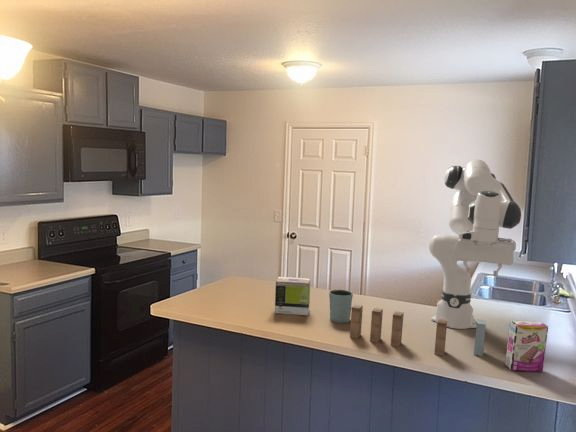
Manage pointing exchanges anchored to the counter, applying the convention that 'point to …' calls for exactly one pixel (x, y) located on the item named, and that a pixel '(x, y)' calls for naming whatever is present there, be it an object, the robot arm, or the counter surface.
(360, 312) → the domino
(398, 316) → the domino
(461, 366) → the counter surface
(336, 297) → the teal cup
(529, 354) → the candy bar box
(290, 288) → the tea box
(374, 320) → the domino
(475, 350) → the light blue domino
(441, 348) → the brown wooden block
